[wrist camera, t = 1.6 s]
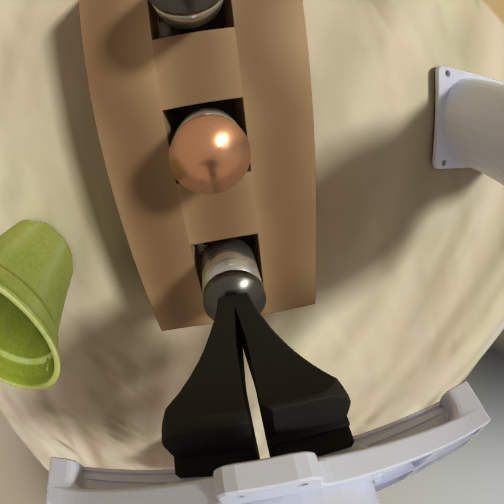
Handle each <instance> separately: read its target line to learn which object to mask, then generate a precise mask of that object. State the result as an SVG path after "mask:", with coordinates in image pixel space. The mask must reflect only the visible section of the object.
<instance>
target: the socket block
mask: <svg viewBox="0 0 504 504" xmlns="http://www.w3.org/2000/svg"><path fill="white" fill-rule="evenodd" d="M223 9H224V17H225V26H226V28H221V29H213V30H205V31H198V32H192V33H186V34H180V35H175V36H170V37H165V38H161V32H160V24H159V15H158V13H157V12H156V10H155V9H154V7H153V5H152V4H151V2H150V1H149V0H79V13H80V25H81V35H82V44H83V52H84V59H85V66H86V73H87V79H88V86H89V91H90V97H91V102H92V108H93V113H94V118H95V123H96V127H97V132H98V136H99V141H100V145H101V149H102V153H103V158H104V162H105V165H106V169H107V173H108V177H109V181H110V184H111V188H112V192H113V195H114V199H115V202H116V205H117V209H118V212H119V215H120V219H121V222H122V225H123V228H124V231H125V234H126V237H127V240H128V243H129V246H130V249H131V252H132V255H133V258H134V261H135V264H136V266H137V269H138V272H139V275H140V277H141V280H142V283H143V286H144V288H145V291H146V293H147V296H148V299H149V301H150V304H151V306H152V309H153V311H154V314H155V316H156V318H157V321H158V323H159V326H160V328H161V330H162V331H164V330H171V329H178V328H185V327H192V326H198V325H205V324H211V323H214V320H212V319H211V318H210V317H209V316H208V315H207V314H206V312H205V310H204V306H203V289H202V266H201V256H200V252H199V247H198V244H199V243H204V242H210V241H216V240H222V239H228V238H233V237H239V236H245V235H251V240H252V248H253V254H254V257H255V261H256V264H257V267H258V271H259V274H260V277H261V281H262V284H263V287H264V290H265V294H266V304H265V307H264V309H263V311H262V312H261V313H260V314H261V315H262V314H267V313H273V312H278V311H283V310H288V309H293V308H298V307H302V306H307V305H312V304H315V287H316V171H315V143H314V123H313V106H312V91H311V78H310V66H309V55H308V45H307V35H306V26H305V18H304V10H303V2H302V0H223ZM233 98H234V99H235V107H236V116H237V124H238V126H239V127H240V128H241V129H242V130H243V132H244V133H245V135H246V136H247V138H248V141H249V144H250V148H251V160H250V164H249V167H248V170H247V172H246V174H245V175H244V177H243V178H242V179H241V180H240V181H239V182H238V183H237V184H236V185H235V186H233V187H232V188H230V189H228V190H226V191H224V192H221V193H217V194H200V193H197V192H194V191H191V190H189V189H187V188H186V187H184V186H183V185H182V184H181V183H180V182H179V181H178V180H177V179H176V178H175V176H174V174H173V172H172V170H171V167H170V164H169V149H170V145H171V142H172V140H173V138H174V136H175V133H176V132H175V126H174V120H173V114H172V108H177V107H182V106H188V105H193V104H199V103H205V102H211V101H218V100H225V99H233Z"/></svg>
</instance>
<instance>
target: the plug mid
mask: <svg viewBox="0 0 504 504" xmlns="http://www.w3.org/2000/svg"><path fill="white" fill-rule="evenodd" d="M250 160H251V148H250V144H249V141H248V138H247V136H246V135H245V133H244V132H243V130H242V129H241V128H240V127H239V126H238V124H237V123H236V122H235V121H234V120H233V119H232V117H231V116H230V115H228V114H227V113H225V112H224V111H222V110H219V109H216V108H202V109H198V110H195V111H193V112H192V113H190V114H189V115H187V116H186V117H185V118H184V119H183V121H182V122H181V123H180V125H179V127H178V129H177V131H176V133H175V136H174V138H173V140H172V142H171V145H170V149H169V164H170V167H171V170H172V172H173V174H174V176H175V178H176V179H177V180H178V181H179V182H180V183H181V184H182V185H183V186H184V187H186V188H187V189H189V190H191V191H194V192H197V193H200V194H217V193H221V192H224V191H226V190H228V189H230V188H232V187H233V186H235V185H236V184H237V183H238V182H239V181H240V180H241V179H242V178H243V177H244V175H245V174H246V172H247V170H248V167H249V164H250Z"/></svg>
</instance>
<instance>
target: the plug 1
mask: <svg viewBox="0 0 504 504" xmlns="http://www.w3.org/2000/svg"><path fill="white" fill-rule="evenodd" d="M149 1H150V2H151V4H152V5H153V7H154V9H155V10H156V12H157V13H158V15H159V16H160V18H161V19H162V20H163V21H164V22H165V23H167V24H168V25H170V26H172V27H175V28H179V29H193V28H197V27H201V26H203V25H205V24H207V23H209V22H210V21H211V20H213V19H214V18H215V17H216V15H217V14H218V13H219V11H220V9H221V6H222V3H223V0H149Z"/></svg>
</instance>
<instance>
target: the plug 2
mask: <svg viewBox="0 0 504 504" xmlns="http://www.w3.org/2000/svg"><path fill="white" fill-rule="evenodd" d="M201 266H202V289H203V306H204V310H205V312H206V314H207V315H208V316H209V317H210V318H211V319H212V320H214V319H215V315H216V310H217V303H218V298H219V297H223V296H229V295H234V294H240V293H248V294H249V296H250V298H251V300H252V302H253V304H254V305H255V307H256V308H257V310H258V312H259V313H261V312H262V311H263V309H264V307H265V304H266V294H265V290H264V287H263V284H262V281H261V277H260V274H259V271H258V267H257V264H256V261H255V257H254V254H253V251H252V250H251V248H250V247H249V246H248V245H247V244H246V243H245V242H243V241H241V240H238V239H234V238H228V239H222V240H217V241H215V242H213V243H212V244H210V245H209V246H208V247H207V248H206V250H205V251H204V253H203V255H202V260H201Z"/></svg>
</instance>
